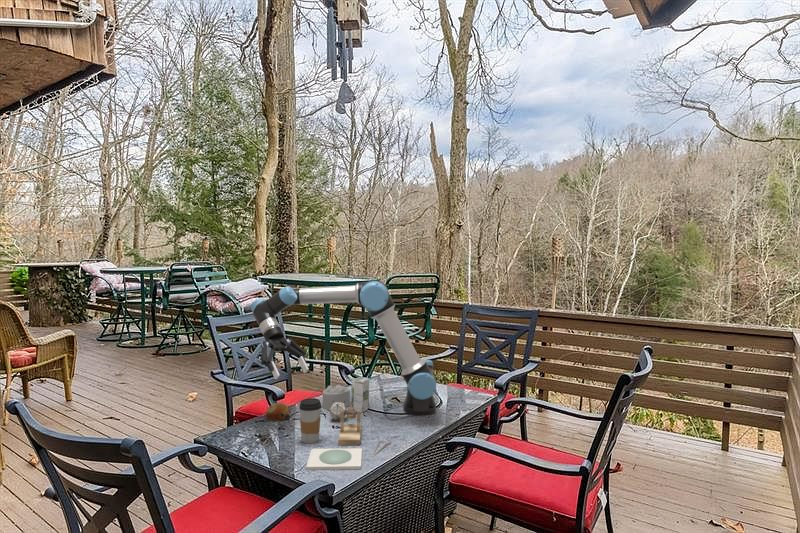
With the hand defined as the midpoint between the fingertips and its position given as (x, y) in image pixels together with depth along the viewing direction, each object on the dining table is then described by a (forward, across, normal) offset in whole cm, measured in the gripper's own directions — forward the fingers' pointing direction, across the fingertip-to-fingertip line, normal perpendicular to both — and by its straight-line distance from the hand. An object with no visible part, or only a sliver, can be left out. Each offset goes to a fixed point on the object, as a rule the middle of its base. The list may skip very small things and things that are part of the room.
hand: (292, 374), depth 182 cm
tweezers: (+43, -11, +9) cm, 45 cm away
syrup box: (+17, -37, -16) cm, 43 cm away
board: (+38, +4, +6) cm, 39 cm away
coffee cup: (+24, 0, -9) cm, 26 cm away
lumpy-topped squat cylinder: (+8, -33, -26) cm, 43 cm away
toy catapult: (+30, -14, -3) cm, 33 cm away
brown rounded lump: (+4, -6, -30) cm, 31 cm away
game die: (+18, -22, -14) cm, 32 cm away
